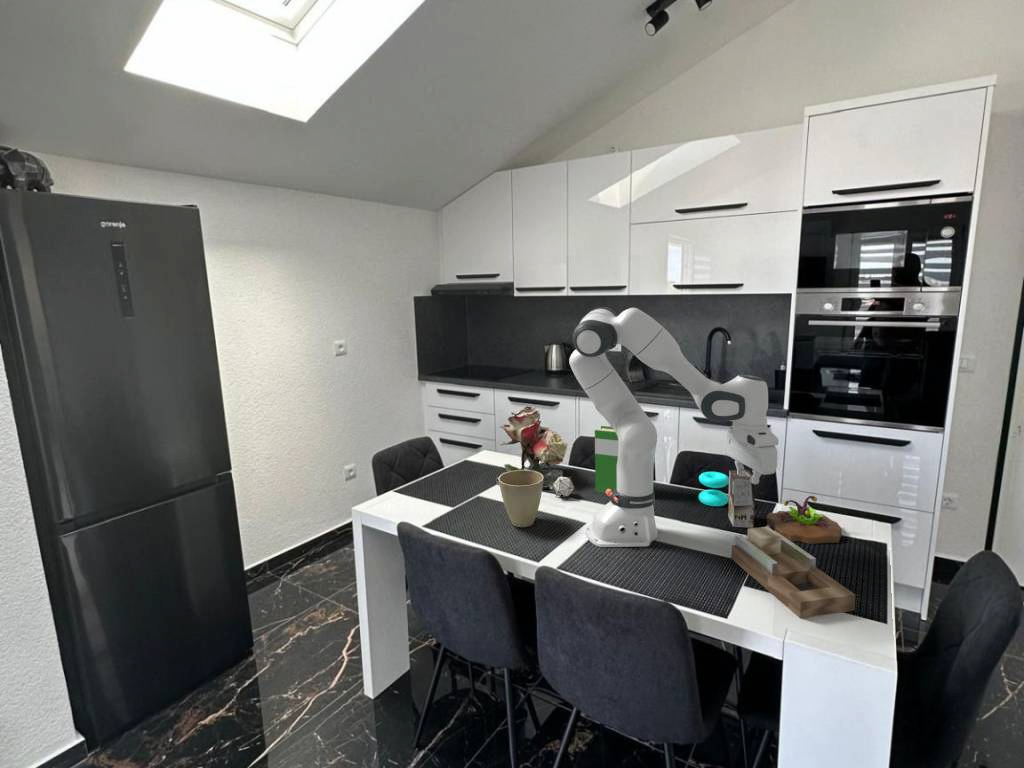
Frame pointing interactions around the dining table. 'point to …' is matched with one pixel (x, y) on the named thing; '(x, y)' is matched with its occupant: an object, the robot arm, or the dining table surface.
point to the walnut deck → (798, 585)
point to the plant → (804, 524)
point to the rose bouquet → (535, 444)
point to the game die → (563, 486)
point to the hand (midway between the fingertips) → (747, 479)
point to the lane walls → (769, 562)
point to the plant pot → (521, 495)
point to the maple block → (765, 540)
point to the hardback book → (606, 459)
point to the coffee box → (741, 499)
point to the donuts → (715, 482)
